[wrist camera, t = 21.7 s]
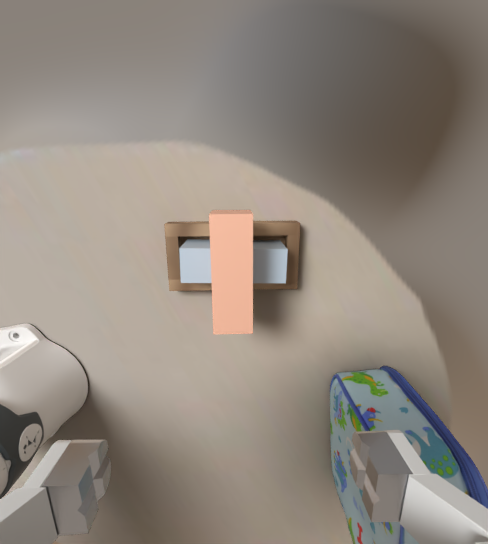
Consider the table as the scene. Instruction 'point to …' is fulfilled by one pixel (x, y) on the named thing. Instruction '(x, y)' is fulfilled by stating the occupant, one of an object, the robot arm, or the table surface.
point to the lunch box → (391, 416)
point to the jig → (261, 231)
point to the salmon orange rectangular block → (232, 271)
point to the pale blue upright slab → (265, 261)
